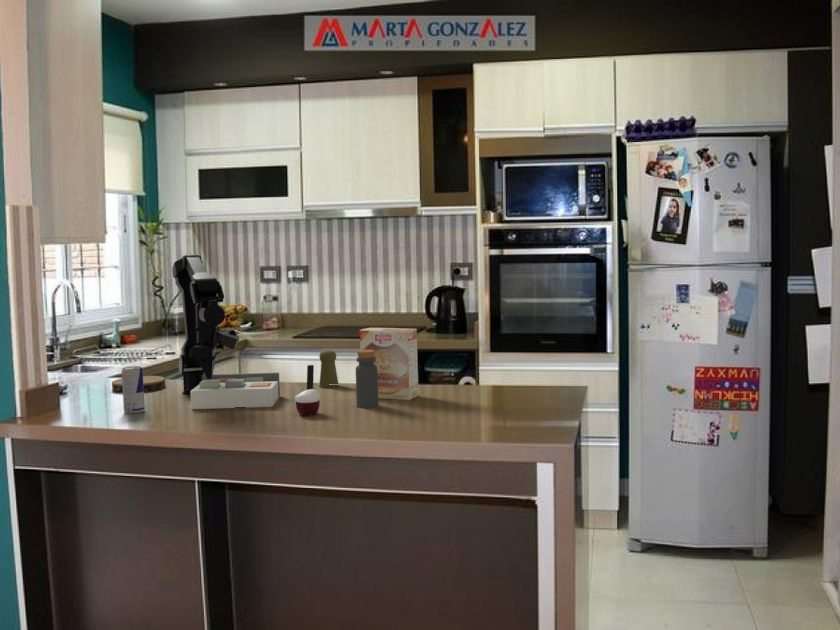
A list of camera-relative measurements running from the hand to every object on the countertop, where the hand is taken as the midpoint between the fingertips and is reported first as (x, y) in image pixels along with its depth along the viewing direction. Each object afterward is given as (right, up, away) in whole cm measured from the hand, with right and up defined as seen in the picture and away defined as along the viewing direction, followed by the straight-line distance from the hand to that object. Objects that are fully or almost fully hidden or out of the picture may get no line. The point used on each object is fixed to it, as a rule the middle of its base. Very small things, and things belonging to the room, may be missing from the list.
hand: (209, 378), depth 232 cm
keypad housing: (+7, -7, +2) cm, 10 cm away
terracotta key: (+14, -6, +1) cm, 15 cm away
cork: (+30, -4, +25) cm, 40 cm away
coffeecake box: (+50, -6, +5) cm, 51 cm away
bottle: (+44, -7, -7) cm, 46 cm away
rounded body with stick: (+30, -8, -15) cm, 34 cm away
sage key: (0, -5, 0) cm, 5 cm away
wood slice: (-30, -6, +30) cm, 42 cm away
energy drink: (-19, -9, -7) cm, 22 cm away
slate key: (+7, -4, +1) cm, 8 cm away
